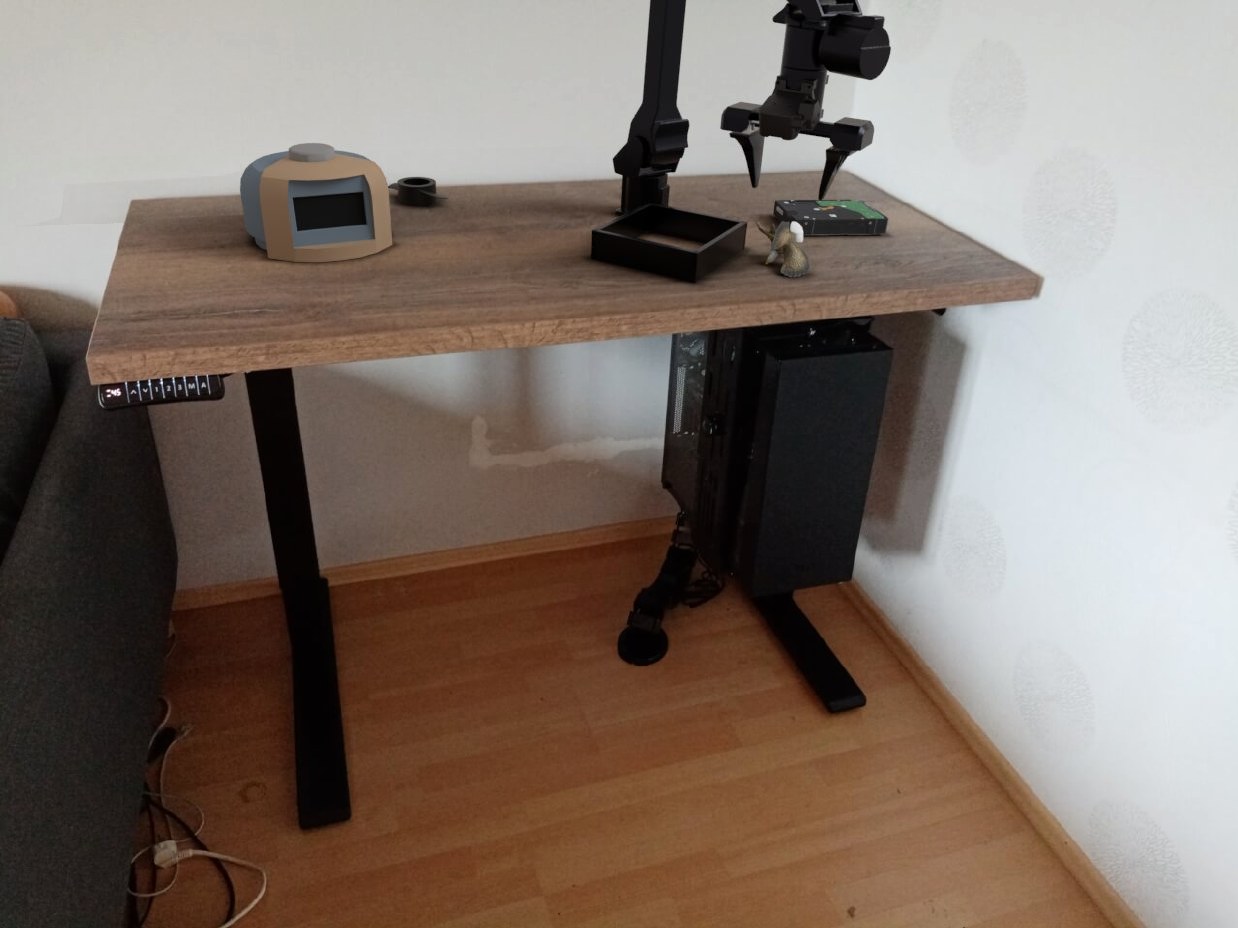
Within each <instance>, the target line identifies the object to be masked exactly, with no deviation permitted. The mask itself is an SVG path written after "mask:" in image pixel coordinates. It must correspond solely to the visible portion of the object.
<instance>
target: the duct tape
mask: <svg viewBox="0 0 1238 928" xmlns="http://www.w3.org/2000/svg"><path fill="white" fill-rule="evenodd" d="M388 188H389V190H395V191H397V196H398V203H399V204H402V205H404V206H409V207H425V206H432V205H435V203H437V201H438V200H437V199H441V200H448V199H449V198H448V197H445V196H442V195H440V194H437V181H436V180H435V179H434V178H431V177H425V176H407V177H403V178H399V179H398V180H397V181H396V182H392V183H390V184H389V185H388Z"/></svg>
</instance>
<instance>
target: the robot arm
mask: <svg viewBox="0 0 1238 928" xmlns="http://www.w3.org/2000/svg"><path fill="white" fill-rule="evenodd" d="M785 1H786V2H787V3H786V4H785V5H784V7H783V8H782V9H781V10H779V11H778V12H776V14H775V15H773V16H772V20H771V21H772V23H774V24H782V25H785V32H784V39H783V49H782V55H781V56H782V57H781V65H780V71H779V75H776V80H775V82H774V88H773V90H772V93H771V94H770V95H769V96H768V97H767V98H766V100H765V101H764V102H763V103H762V104H759V103H752V102H744V101H739V102H736V103H733V104H730V105H728V106H726V107H725V108H724V110H723V111H722V113H721V116H720V118H721V119H720V126H719V127H720V130H723V131H727V132H729V133H728V134H729V135H728V136H729V137H730V138H731V139H735V140H736V141H737V142H738V144H739V146H740V147H741V149H742V152H743V155H744V158H745V162H746V166H747V171H748V176H749V181H750V184H751V188H753V189H756V188H757V187H759V182H760V177H761V173H762V164H763V155H764V147H765V146H764V145H765V138H768V137H773V138H779V139H782V141H793V140H795V139H796V138H798V136H799V135H806V136H812V137H819V138H826V139H829V142H830V143H831V146H830V147H828V148H826V149H825V163H824V167H823V171H822V176H821V179H820V184H819V188H818V196H817V197H818V199H817V200H824V198H825V197H826V195H827V193H828V191H829V189H830V188H831V185H832V184H833V182H834V180H835V178H836V176H837V174H838V173H839V171H840V169H841V167H842V166H843V164H844V163H845V162H846V160H847V159H848V157H850V156H852V155H853V154H855V153H857V152H861V151H862V150H865V148H867V147H869V146H871V145H872V144H873V140H874V136H875V135H874V134H875V126H874V124H873V122H872V120H869V119H868V120H867V119H862V118H855V117H848V116H844V117H843V118H842V117H841V118H840V119H838V120H836V121H835V122H831V121H824V120H821V119H823V118H824V112H825V109H824V108H823V104H824V98H825V90H826V85H828V84H829V79H830V75H829V74H828V73H833V74H837V75H842V76H847V77H851V78H857V79H862V80H867V81H873V80H875V79H877V78H878V77H879V76H880V75H881V74H882V73H883V72H884V70H885V68H886V67H887V65H888V62H889V60H890V56H891V51H892V47H891V46H890V44H891V43H890V36H889V33H888V31H887V30H886V29H885V28H884V25H885V20H886V18H885V16H884V15H876V14H874V15H872V14H871V15H864V14H863V10H862V8H861V5H860V3H859V0H785ZM686 6H687V0H649V10H648V11H649V12H648V23H647V36H646V37H647V40H646V50H645V51H646V52H645V63H644V64H645V65H644V77H643V91H642V101H641V104H640V106H639V108H638V109H637V111H636V113H634V116H633V118H632V119H631V121H630V125H629V130H628V135H627V140H626V143H624V145H623V146H622V147H621V148H620V149H619V150H618V151H617V153H616V154H615V155H614V156H613V158H612V164H613V165H612V166H613V171H614V173H615V174H617V175H620V176H621V192H620V194H621V195H620V207H619V208H617V209H615V214H617V215H620V216H622V215H624V214H626V213H628V212H630V211H632V210H634V209H636V208H638V207H640V206H642V205H644V204H646V203H648V202H650V203H655V204H660V205H665V206H669V203H670V188H671V185H670V184H669V183H668V178H669V174H670V173H671V174H674V173H676V171H677V169H678V166H679V163H680V161H681V159H682V158H683V157H684V155H685V151H686V149H687V148H689V142H688V135H689V130H690V120H689V119H688V118H683V117H682V113H681V112H680V109H679V107H678V93H679V83H680V72H681V61H682V49H683V40H684V31H685V30H684V29H685V18H686Z"/></svg>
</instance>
